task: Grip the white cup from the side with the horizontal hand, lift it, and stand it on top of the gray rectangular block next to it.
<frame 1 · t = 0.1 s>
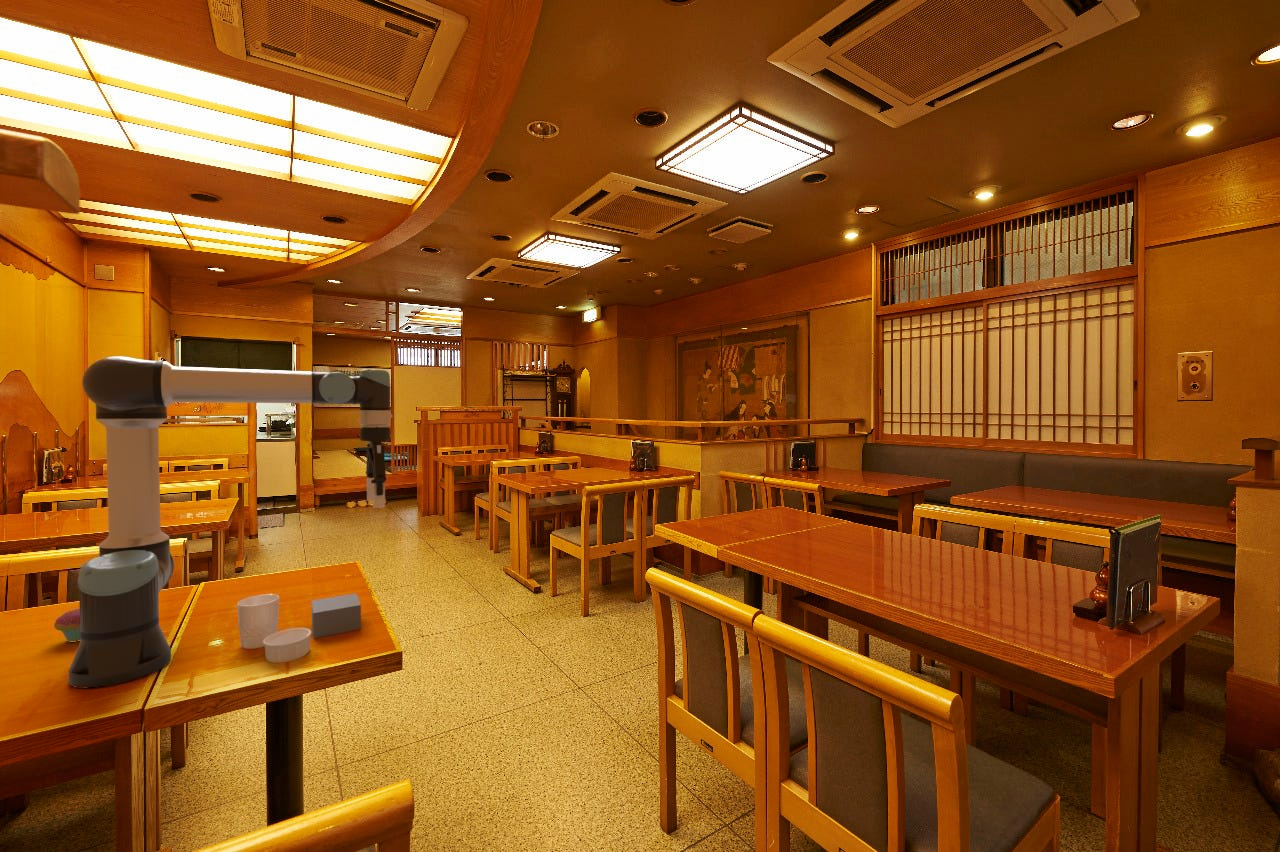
hand: (375, 504, 148), 28 cm above the table, tool pointing down, fingers open, 13 cm apart
white cup: (259, 643, 124), on the table
cupcake: (81, 639, 126), on the table
gray rectangular block: (336, 626, 134), on the table
ramekin: (288, 656, 118), on the table
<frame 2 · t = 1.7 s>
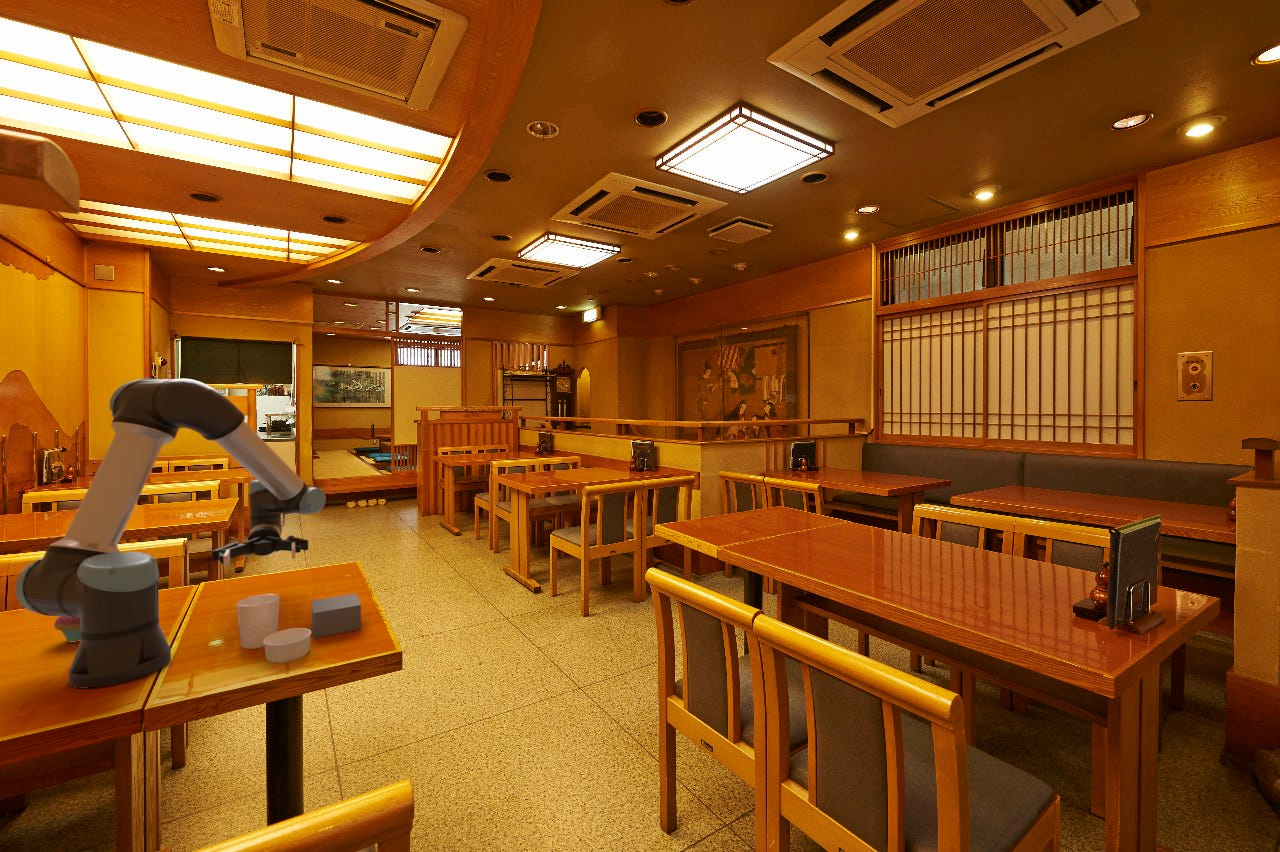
hand: (260, 557, 132), 18 cm above the table, tool horizontal, fingers open, 13 cm apart
nothing on the table moved.
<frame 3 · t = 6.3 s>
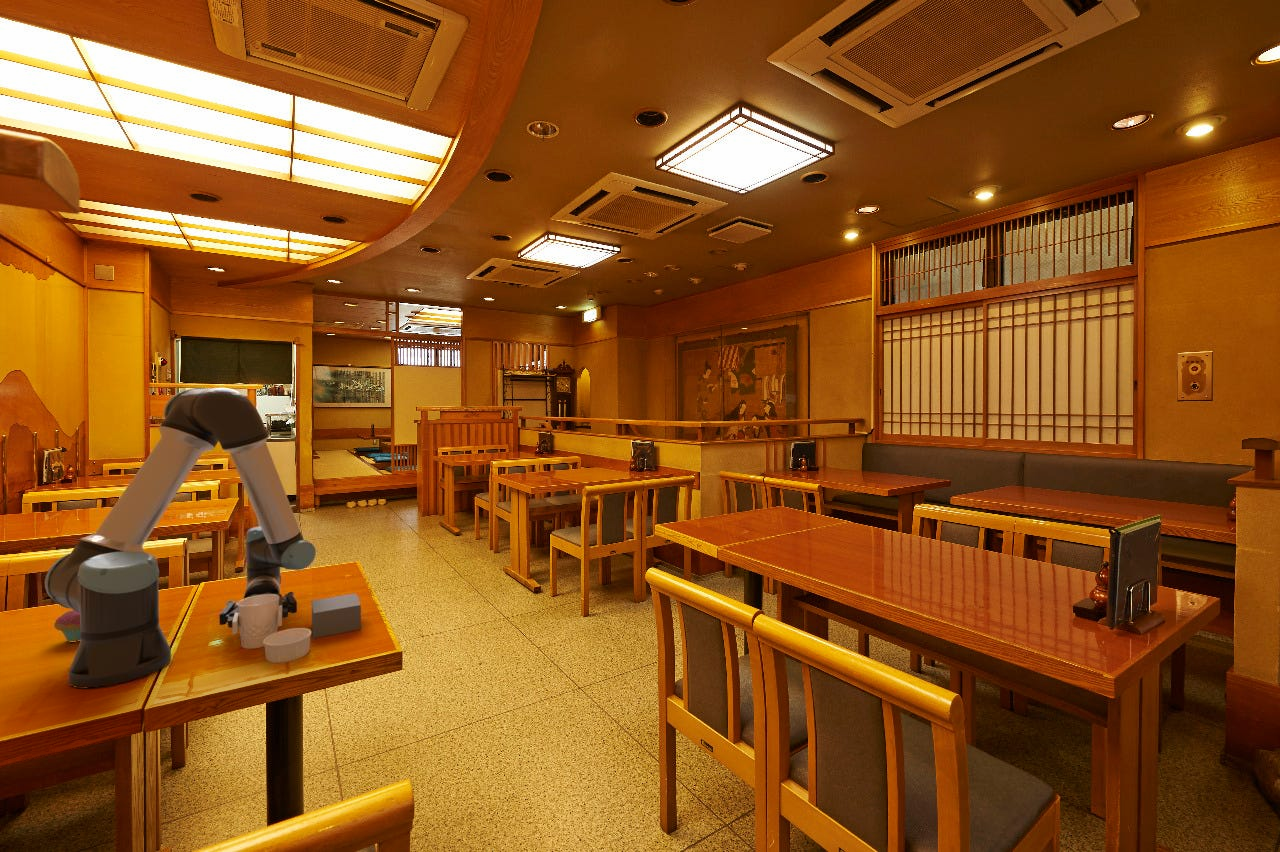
hand: (257, 623, 120), 6 cm above the table, tool horizontal, fingers closed on white cup, 7 cm apart
white cup: (259, 643, 124), on the table, touching gripper
everything else where it was.
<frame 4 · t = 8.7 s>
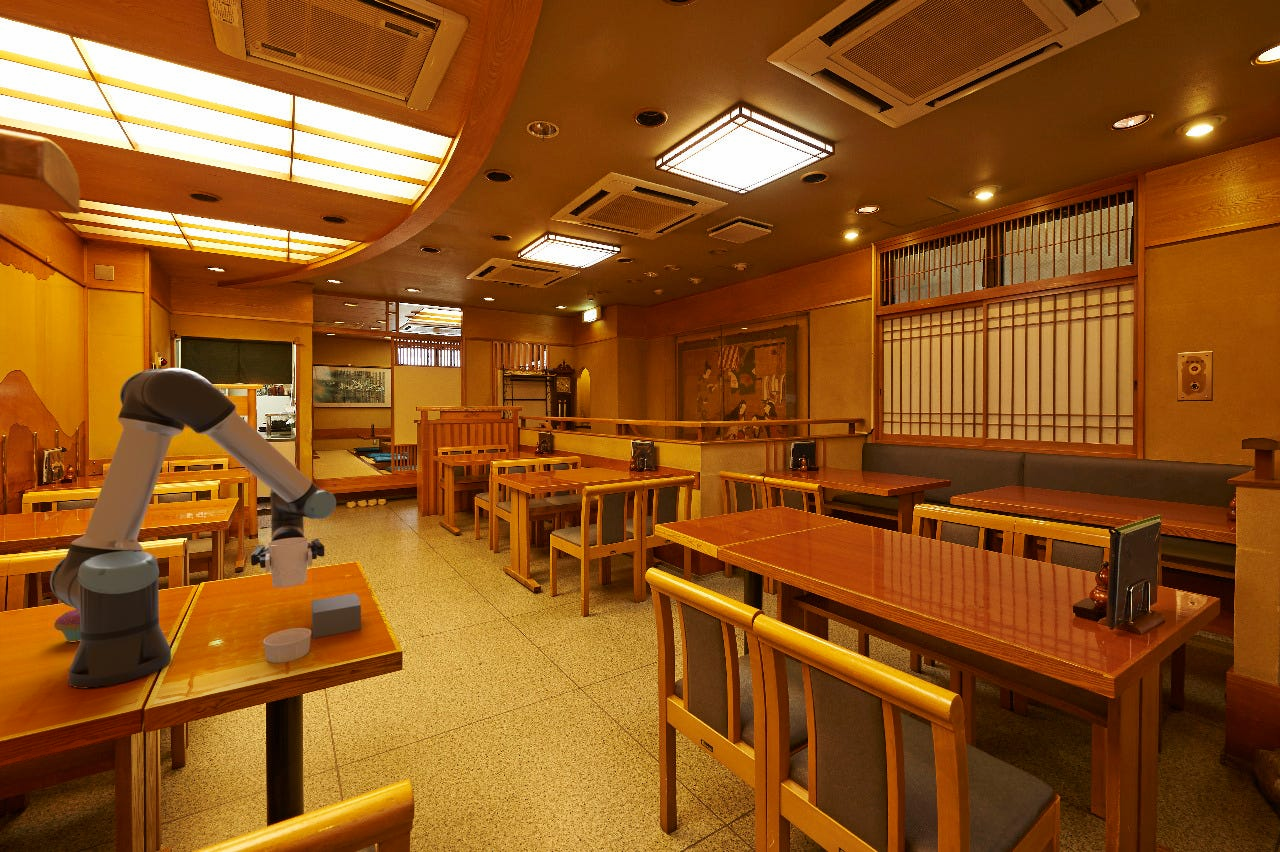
hand: (289, 562, 124), 18 cm above the table, tool horizontal, fingers closed on white cup, 7 cm apart
white cup: (289, 584, 128), point 12 cm above the table, touching gripper
everything else where it was.
when the fingers open (13 cm above the table, at t = 10.9 s): white cup drops 1 cm, resting on gray rectangular block.
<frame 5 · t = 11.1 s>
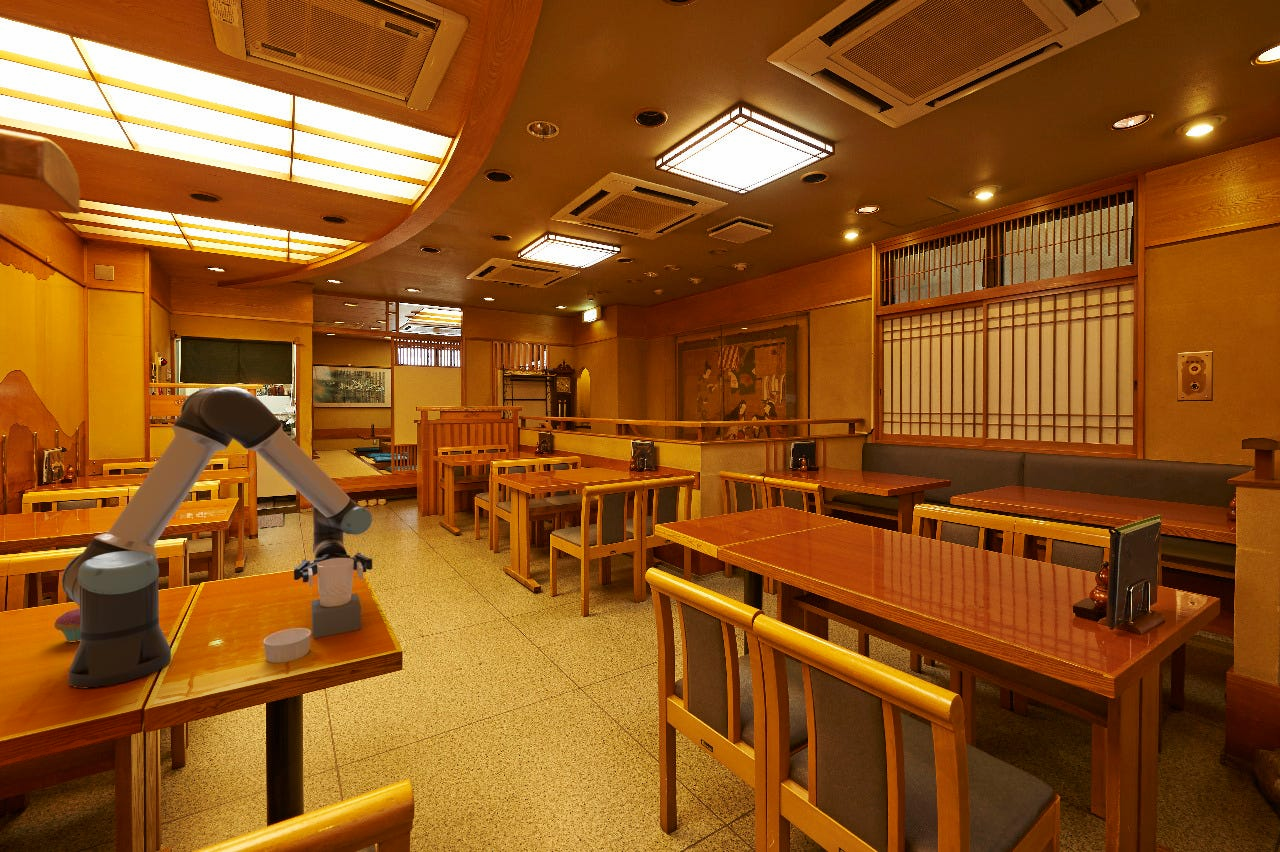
hand: (336, 577, 130), 13 cm above the table, tool horizontal, fingers open, 10 cm apart
white cup: (335, 603, 133), point 6 cm above the table, touching gray rectangular block
everything else where it was.
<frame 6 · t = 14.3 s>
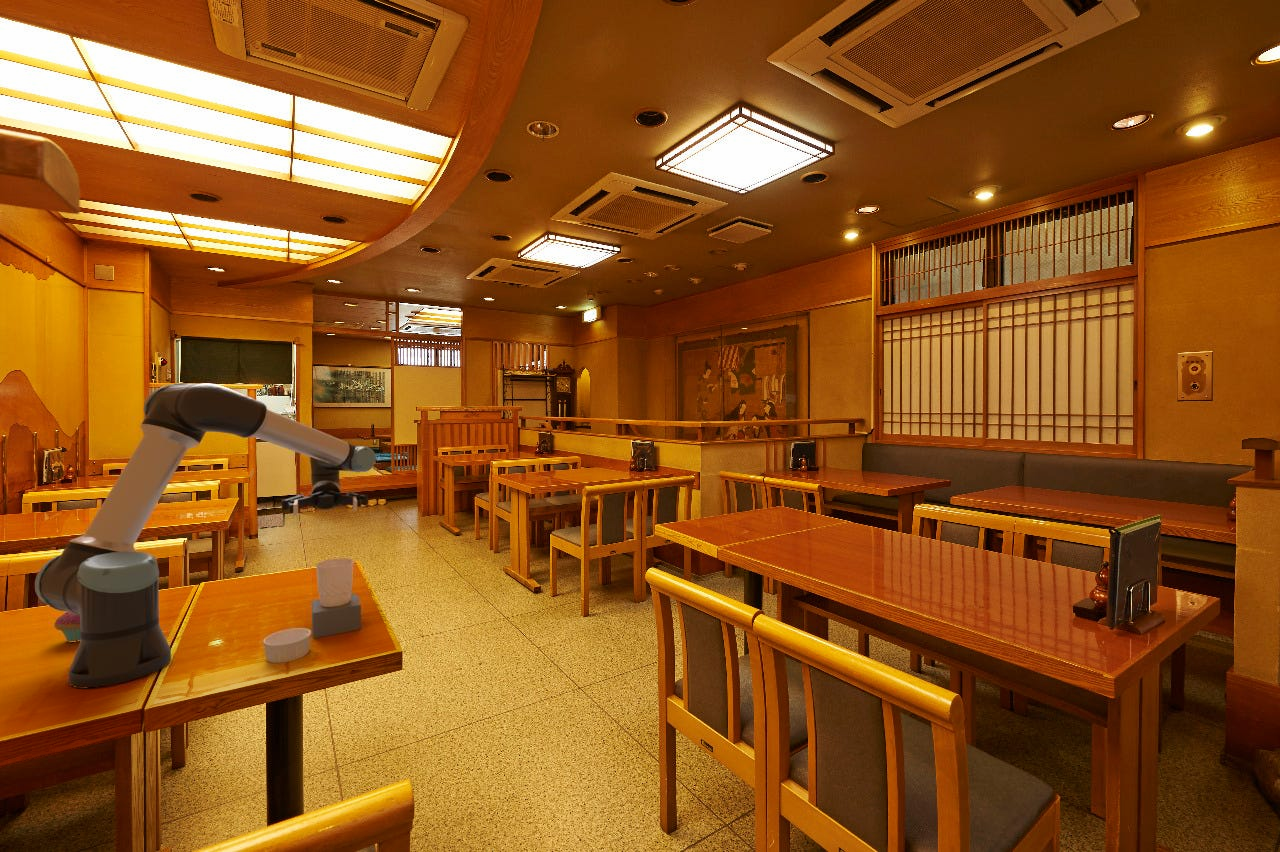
hand: (326, 508, 141), 28 cm above the table, tool horizontal, fingers open, 13 cm apart
nothing on the table moved.
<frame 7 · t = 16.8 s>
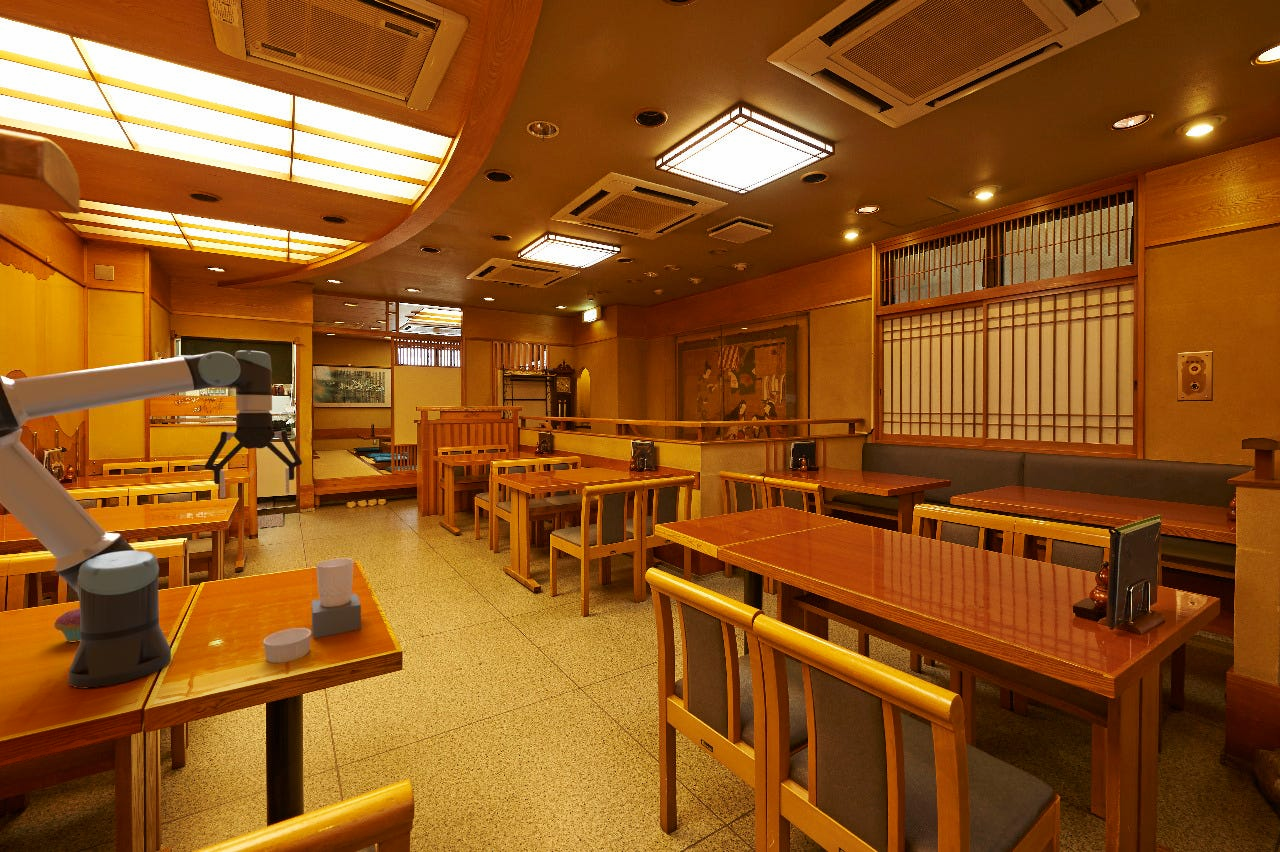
hand: (256, 494, 139), 32 cm above the table, tool pointing down, fingers open, 13 cm apart
nothing on the table moved.
at the end: white cup 0.1 cm off-centre on the gray rectangular block, point 5.8 cm above the gray rectangular block's base; white cup tilted 0°; the gripper is holding nothing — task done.
